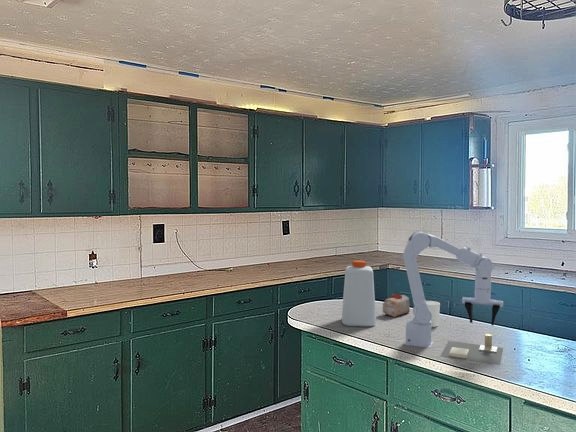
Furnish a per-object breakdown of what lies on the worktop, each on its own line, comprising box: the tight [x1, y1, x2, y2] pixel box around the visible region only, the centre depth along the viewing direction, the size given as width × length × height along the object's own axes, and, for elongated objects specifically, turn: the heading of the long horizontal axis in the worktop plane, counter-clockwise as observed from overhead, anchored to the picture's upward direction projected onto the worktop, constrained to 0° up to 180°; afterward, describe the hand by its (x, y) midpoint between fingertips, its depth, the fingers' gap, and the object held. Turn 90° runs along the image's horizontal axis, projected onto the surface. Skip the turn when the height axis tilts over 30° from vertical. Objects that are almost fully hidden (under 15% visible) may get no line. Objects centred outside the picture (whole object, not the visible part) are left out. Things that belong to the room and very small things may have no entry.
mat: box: [440, 340, 504, 366], centre depth 188 cm, size 20×20×1 cm
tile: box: [449, 347, 469, 359], centre depth 185 cm, size 6×1×7 cm
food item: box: [382, 293, 411, 318], centre depth 244 cm, size 14×8×10 cm, turn 134°
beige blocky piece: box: [479, 333, 498, 353], centre depth 190 cm, size 6×6×6 cm
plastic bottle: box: [341, 259, 377, 328], centre depth 229 cm, size 15×15×28 cm
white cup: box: [426, 300, 441, 328], centre depth 226 cm, size 8×8×10 cm
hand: (481, 323), depth 194 cm, fingers open, 7 cm apart
